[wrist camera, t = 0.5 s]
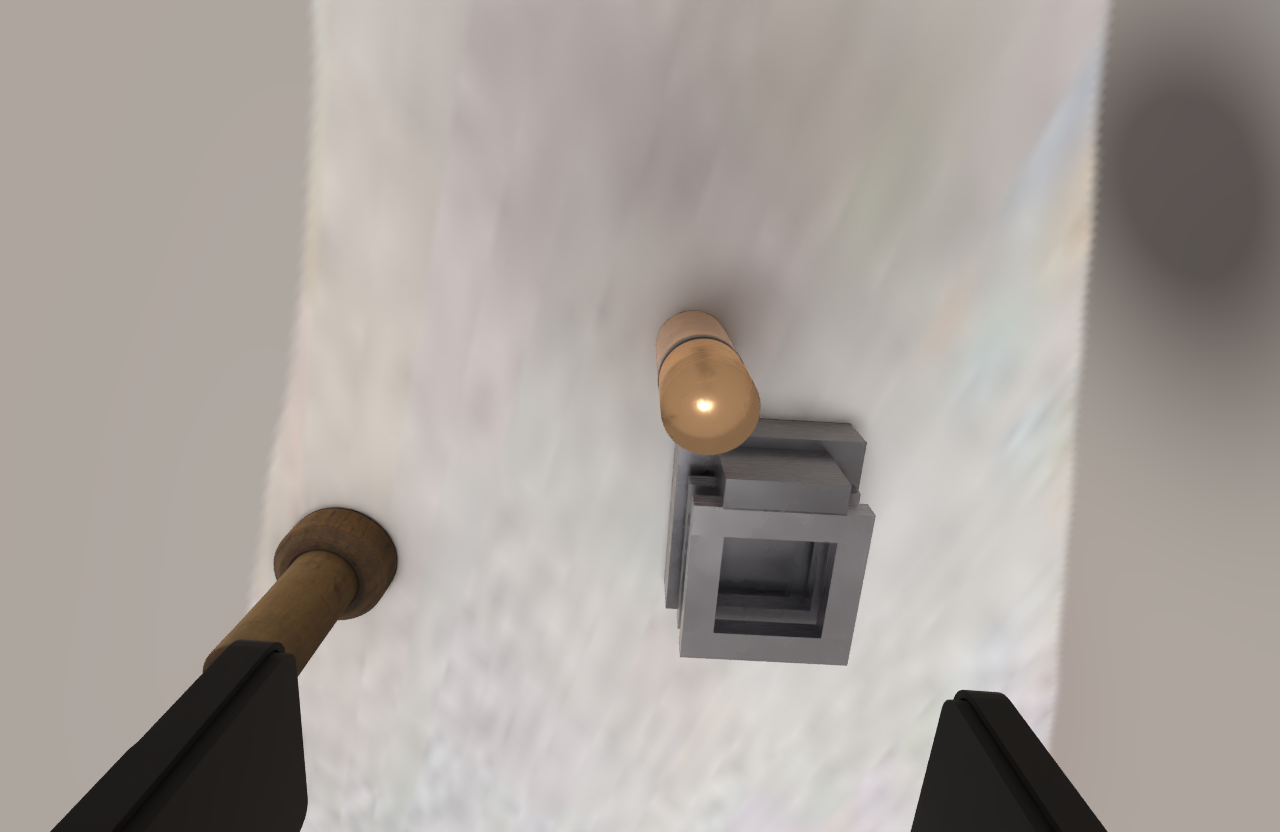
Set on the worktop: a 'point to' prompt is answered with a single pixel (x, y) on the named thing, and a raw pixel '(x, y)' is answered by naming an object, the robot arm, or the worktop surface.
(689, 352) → the copper tube
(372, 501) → the worktop surface
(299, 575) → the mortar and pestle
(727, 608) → the bracket
